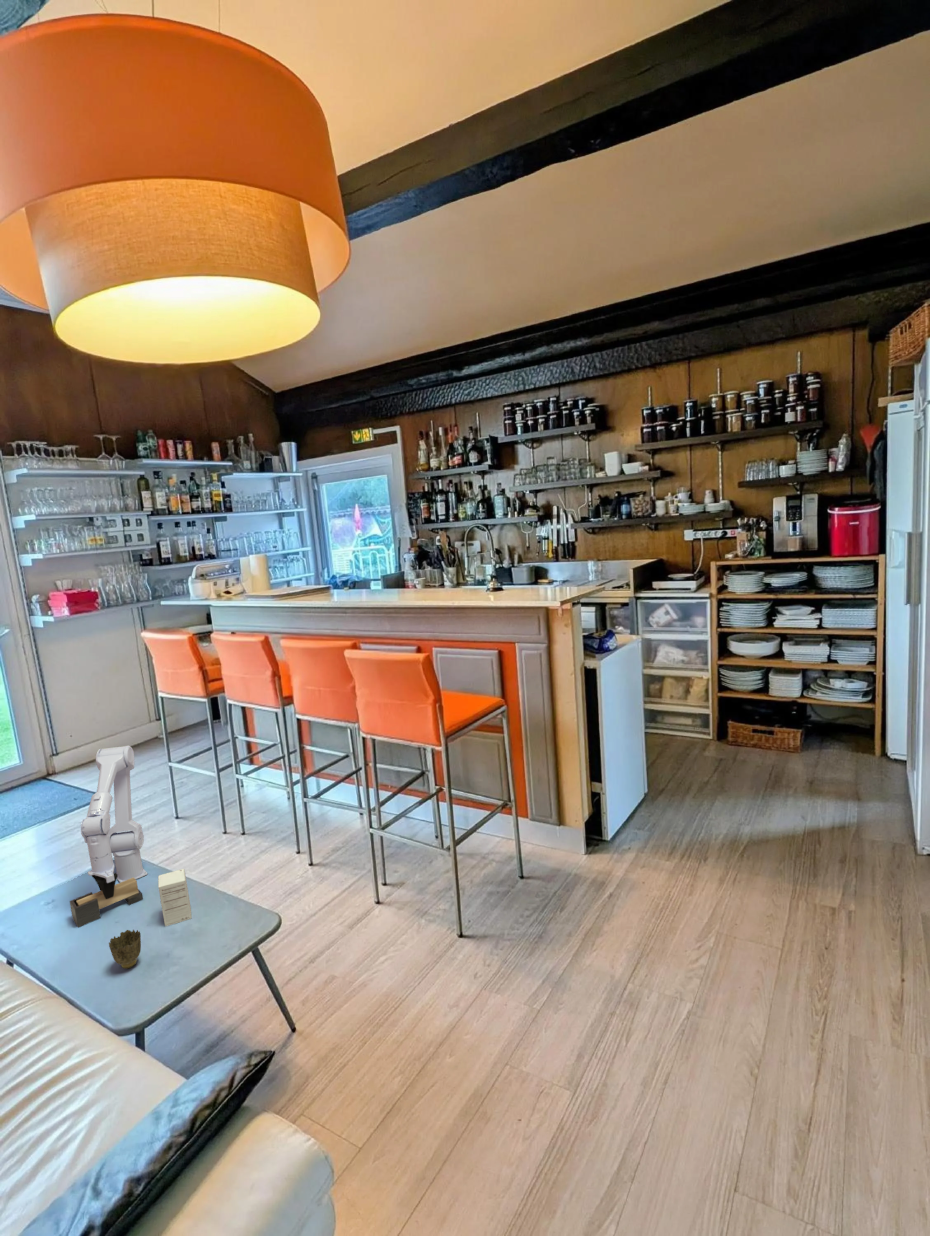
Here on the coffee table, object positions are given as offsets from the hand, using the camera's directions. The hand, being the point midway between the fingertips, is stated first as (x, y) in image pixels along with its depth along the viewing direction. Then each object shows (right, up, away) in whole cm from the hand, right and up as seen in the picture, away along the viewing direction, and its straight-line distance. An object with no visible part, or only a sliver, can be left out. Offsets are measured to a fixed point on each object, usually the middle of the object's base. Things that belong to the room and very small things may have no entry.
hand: (107, 895), depth 196 cm
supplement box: (+24, -4, -6) cm, 25 cm away
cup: (+20, -8, -26) cm, 34 cm away
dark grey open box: (-4, -5, -4) cm, 8 cm away
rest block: (+5, -3, +5) cm, 8 cm away
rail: (0, -2, 0) cm, 2 cm away
